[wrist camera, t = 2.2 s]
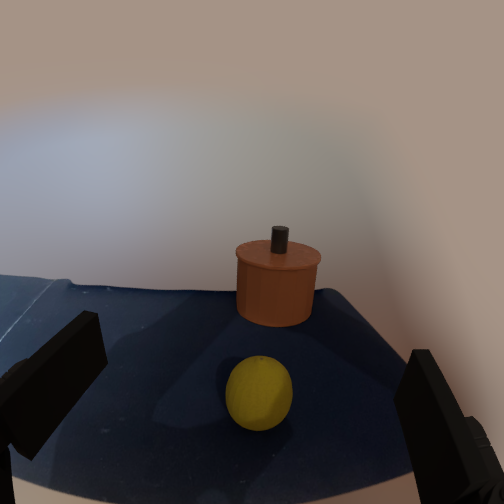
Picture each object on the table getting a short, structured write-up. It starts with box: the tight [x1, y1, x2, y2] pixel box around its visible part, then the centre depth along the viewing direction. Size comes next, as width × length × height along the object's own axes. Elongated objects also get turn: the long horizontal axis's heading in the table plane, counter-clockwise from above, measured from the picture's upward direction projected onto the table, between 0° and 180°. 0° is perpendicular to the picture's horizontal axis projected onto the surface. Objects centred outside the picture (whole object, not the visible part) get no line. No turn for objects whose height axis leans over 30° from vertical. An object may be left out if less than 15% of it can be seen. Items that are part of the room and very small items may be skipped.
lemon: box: [226, 356, 292, 431], centre depth 24 cm, size 6×6×8 cm
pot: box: [236, 259, 318, 327], centre depth 47 cm, size 11×11×8 cm
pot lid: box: [236, 226, 321, 270], centre depth 45 cm, size 12×12×5 cm
